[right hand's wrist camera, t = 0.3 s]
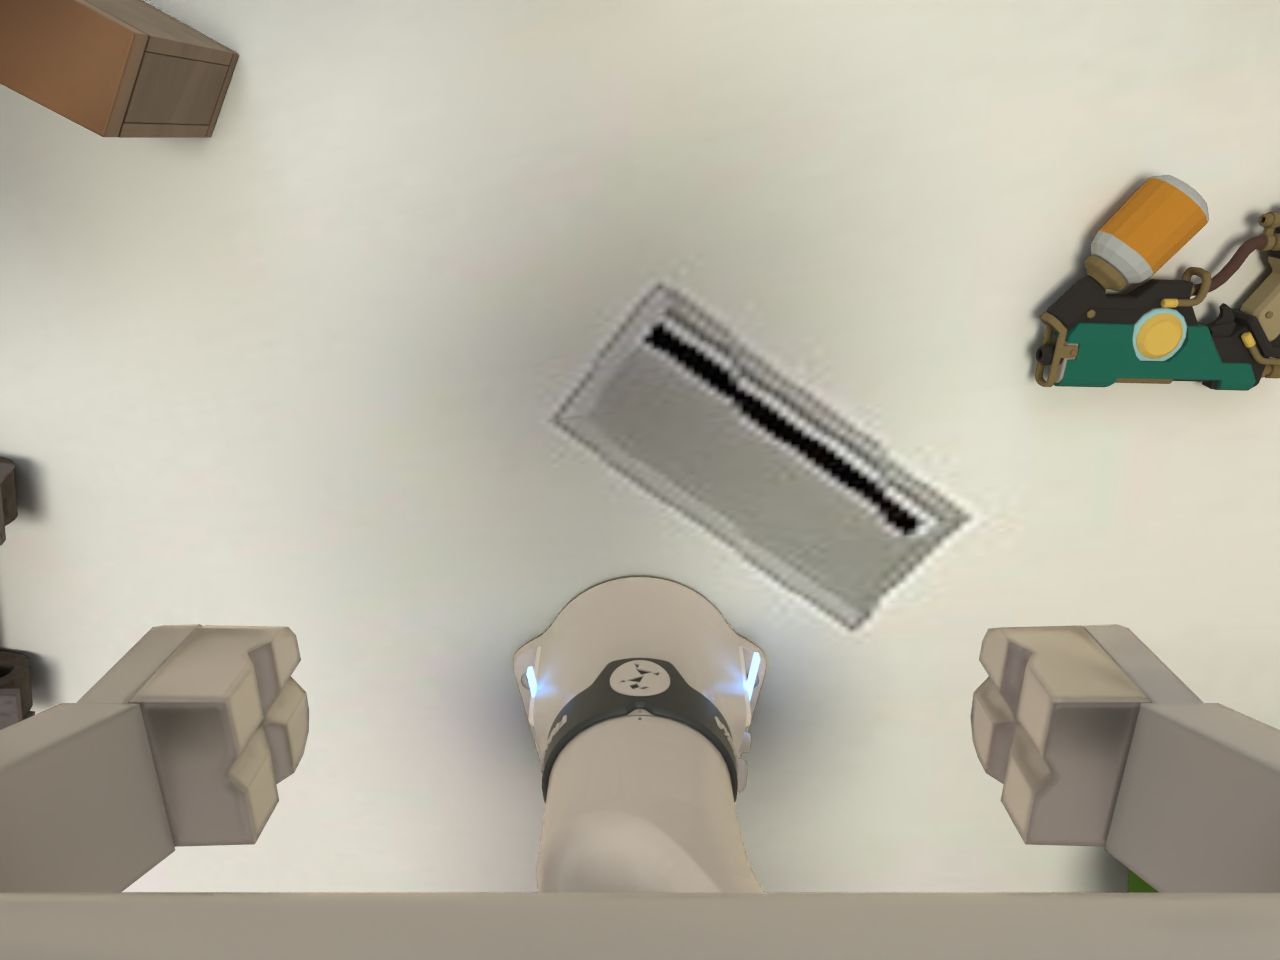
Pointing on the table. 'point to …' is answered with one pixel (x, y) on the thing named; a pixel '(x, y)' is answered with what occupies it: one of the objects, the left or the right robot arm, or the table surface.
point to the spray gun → (1161, 304)
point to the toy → (6, 675)
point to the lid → (70, 59)
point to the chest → (172, 75)
